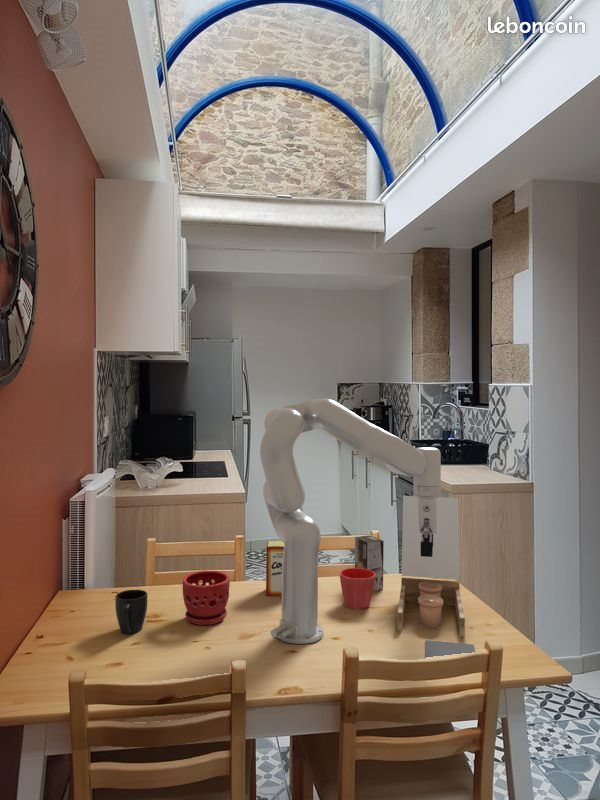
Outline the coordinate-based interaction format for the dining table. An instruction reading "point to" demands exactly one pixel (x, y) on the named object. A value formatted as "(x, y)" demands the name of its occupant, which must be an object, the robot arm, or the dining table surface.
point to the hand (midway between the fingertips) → (427, 551)
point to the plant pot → (206, 597)
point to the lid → (444, 541)
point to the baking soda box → (274, 568)
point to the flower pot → (357, 587)
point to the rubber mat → (446, 648)
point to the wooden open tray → (448, 595)
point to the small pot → (430, 611)
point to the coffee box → (370, 557)
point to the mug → (131, 610)
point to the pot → (430, 588)
